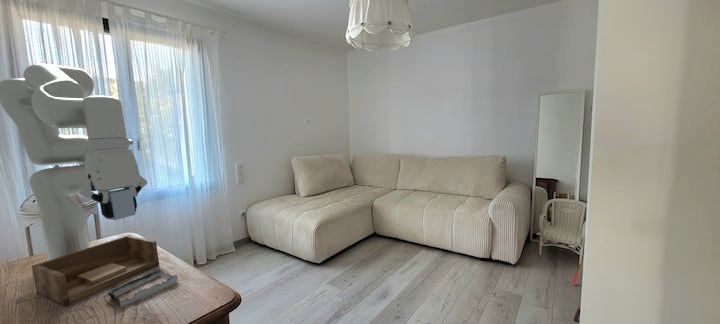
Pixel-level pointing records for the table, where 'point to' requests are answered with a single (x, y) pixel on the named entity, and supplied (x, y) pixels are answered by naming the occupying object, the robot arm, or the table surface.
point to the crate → (94, 269)
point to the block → (121, 203)
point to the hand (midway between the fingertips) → (120, 213)
